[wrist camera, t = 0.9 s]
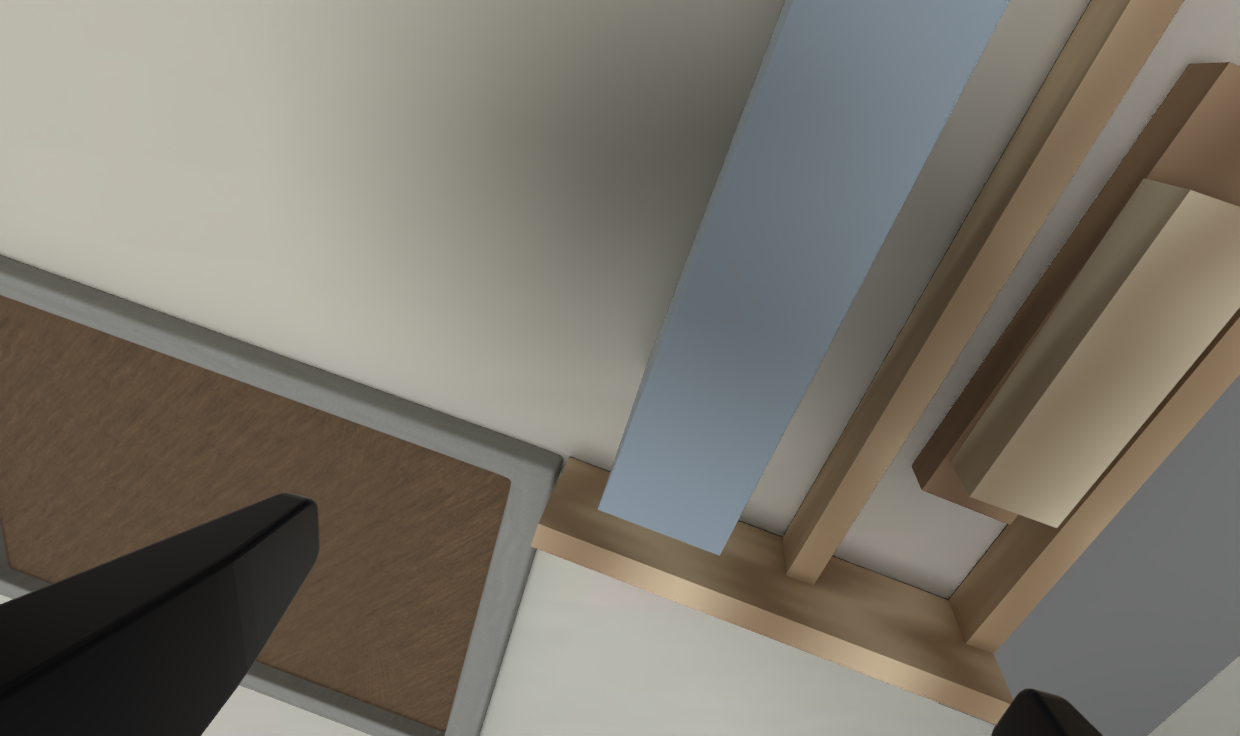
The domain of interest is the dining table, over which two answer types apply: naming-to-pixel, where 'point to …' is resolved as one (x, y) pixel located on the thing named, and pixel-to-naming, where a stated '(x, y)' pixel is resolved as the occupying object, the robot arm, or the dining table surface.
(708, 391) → the light blue block
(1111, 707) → the mat
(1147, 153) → the offcut lower
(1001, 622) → the rack
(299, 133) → the dining table surface
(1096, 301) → the offcut upper
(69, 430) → the grey picture frame
